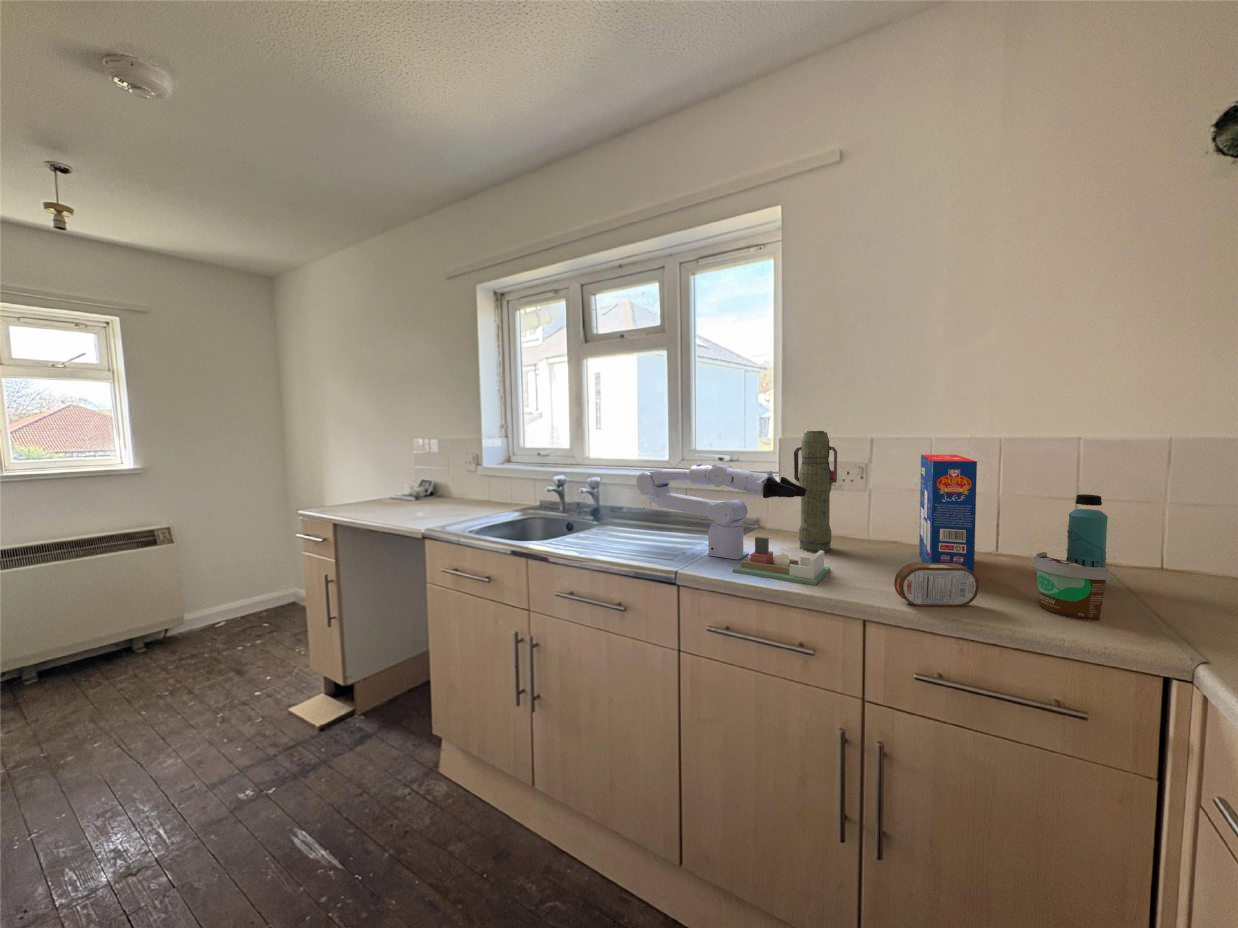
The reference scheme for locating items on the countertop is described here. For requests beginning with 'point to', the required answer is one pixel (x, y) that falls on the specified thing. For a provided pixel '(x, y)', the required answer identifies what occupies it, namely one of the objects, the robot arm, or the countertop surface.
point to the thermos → (815, 490)
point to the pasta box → (948, 510)
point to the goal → (808, 566)
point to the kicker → (762, 551)
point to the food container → (1070, 587)
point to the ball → (781, 559)
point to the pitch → (776, 571)
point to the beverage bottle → (1087, 533)
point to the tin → (936, 584)
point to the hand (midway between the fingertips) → (800, 492)
